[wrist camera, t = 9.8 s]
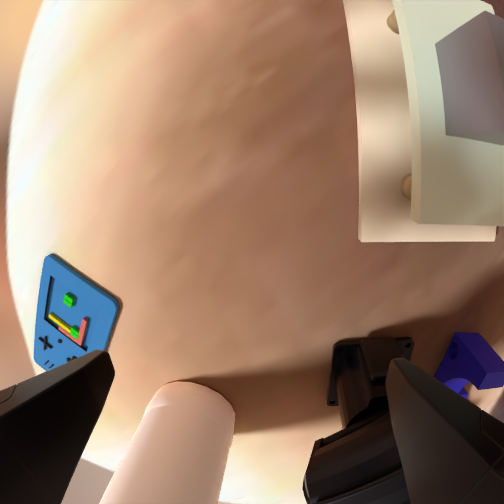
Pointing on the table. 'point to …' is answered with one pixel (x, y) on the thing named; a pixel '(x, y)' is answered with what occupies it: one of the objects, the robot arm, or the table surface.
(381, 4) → the plate
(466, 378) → the cable clip
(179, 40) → the table surface
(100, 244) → the table surface
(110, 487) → the bottle
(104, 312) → the handheld gaming device
